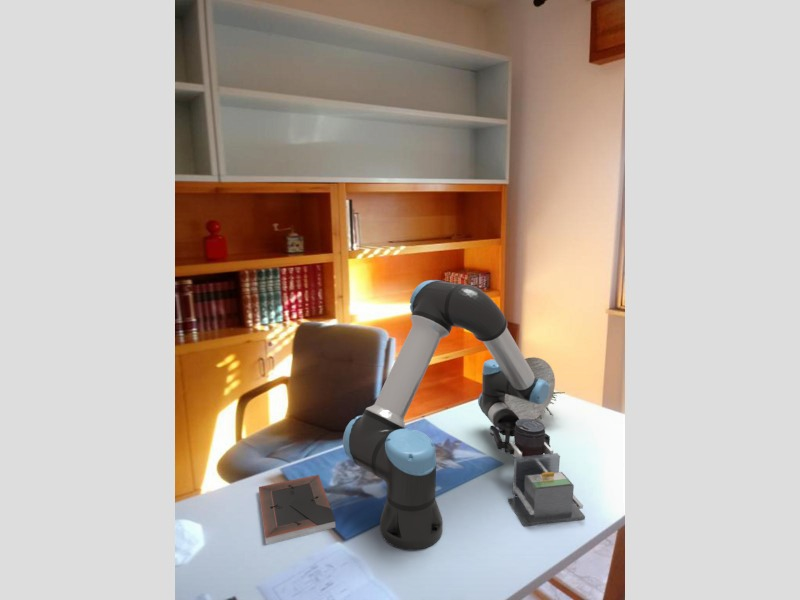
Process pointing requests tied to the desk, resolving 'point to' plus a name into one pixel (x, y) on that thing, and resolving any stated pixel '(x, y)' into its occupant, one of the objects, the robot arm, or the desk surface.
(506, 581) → the desk surface
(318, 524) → the picture frame
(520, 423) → the camera lens
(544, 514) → the grey box on baseplate
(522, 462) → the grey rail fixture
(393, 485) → the robot arm
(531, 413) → the disc
